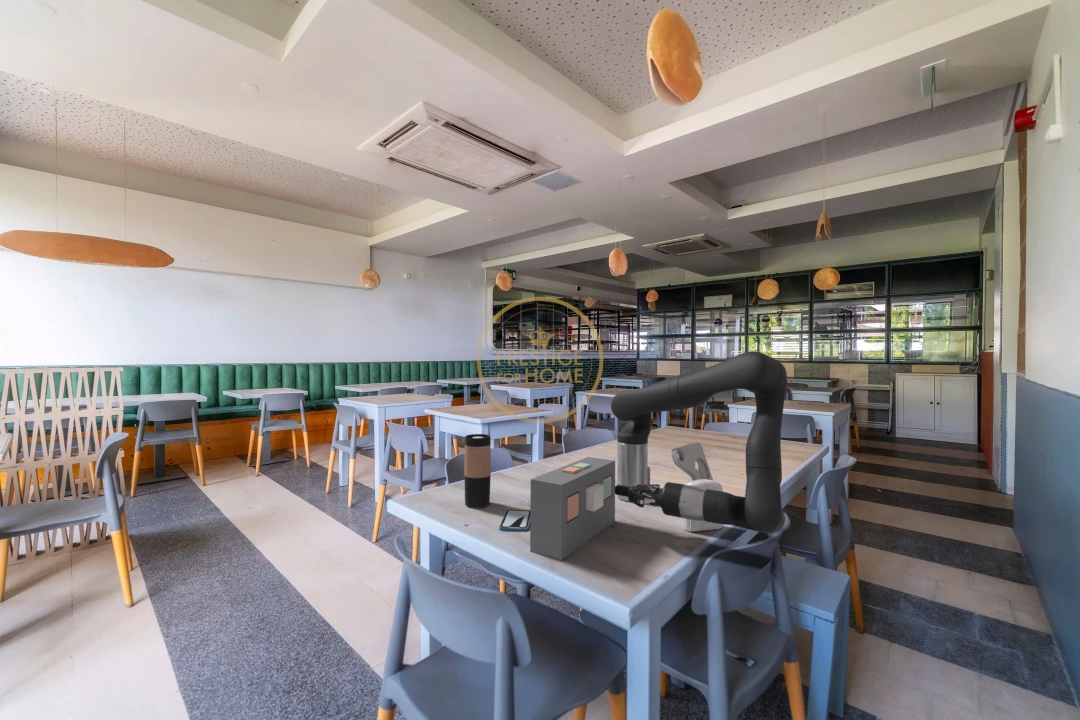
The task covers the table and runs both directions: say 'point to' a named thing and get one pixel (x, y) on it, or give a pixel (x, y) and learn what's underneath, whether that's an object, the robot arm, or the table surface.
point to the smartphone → (515, 520)
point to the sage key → (607, 486)
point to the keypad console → (551, 507)
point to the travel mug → (477, 470)
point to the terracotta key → (572, 506)
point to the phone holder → (692, 461)
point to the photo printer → (702, 525)
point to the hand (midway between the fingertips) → (616, 489)
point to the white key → (594, 496)
